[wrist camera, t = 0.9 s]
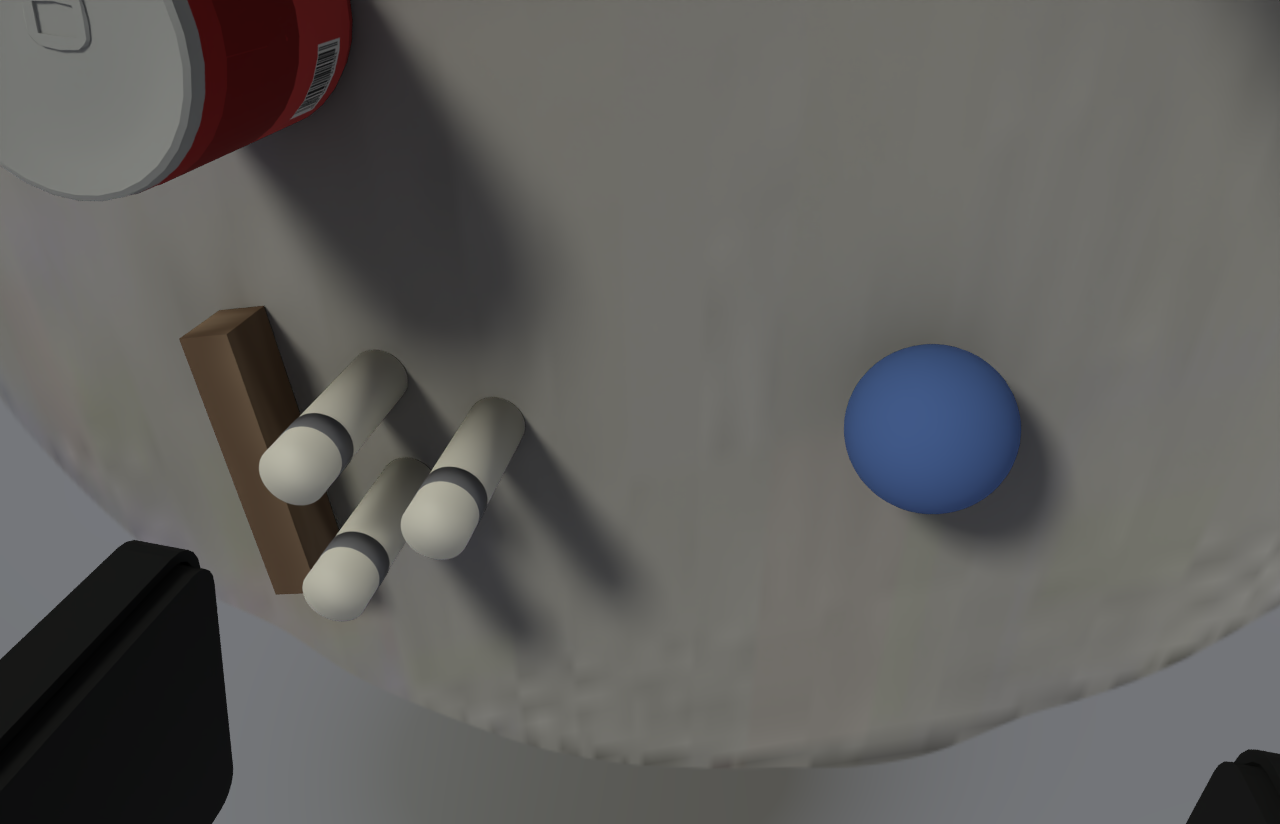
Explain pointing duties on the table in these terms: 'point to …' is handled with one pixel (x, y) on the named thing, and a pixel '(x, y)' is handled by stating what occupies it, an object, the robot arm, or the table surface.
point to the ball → (932, 429)
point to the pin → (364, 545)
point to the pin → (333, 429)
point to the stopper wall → (257, 436)
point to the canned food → (156, 85)
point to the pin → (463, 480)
